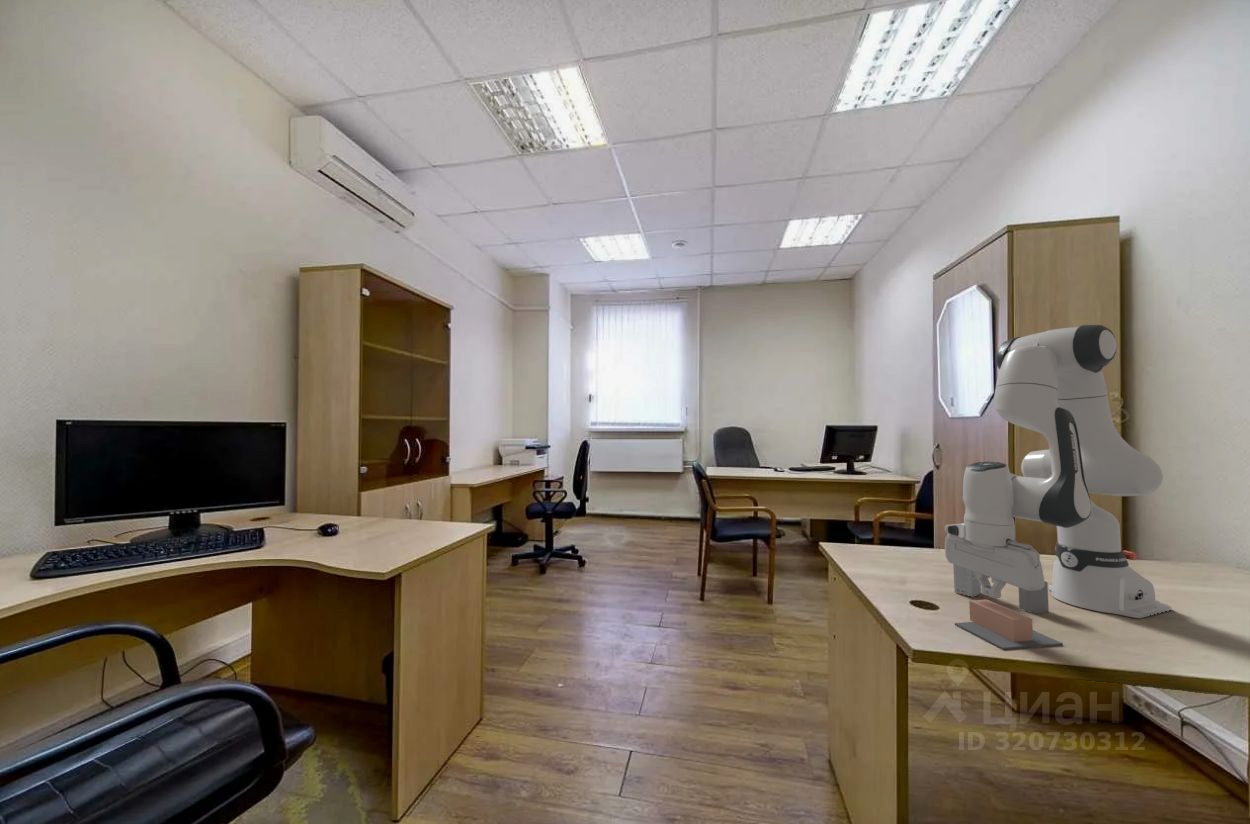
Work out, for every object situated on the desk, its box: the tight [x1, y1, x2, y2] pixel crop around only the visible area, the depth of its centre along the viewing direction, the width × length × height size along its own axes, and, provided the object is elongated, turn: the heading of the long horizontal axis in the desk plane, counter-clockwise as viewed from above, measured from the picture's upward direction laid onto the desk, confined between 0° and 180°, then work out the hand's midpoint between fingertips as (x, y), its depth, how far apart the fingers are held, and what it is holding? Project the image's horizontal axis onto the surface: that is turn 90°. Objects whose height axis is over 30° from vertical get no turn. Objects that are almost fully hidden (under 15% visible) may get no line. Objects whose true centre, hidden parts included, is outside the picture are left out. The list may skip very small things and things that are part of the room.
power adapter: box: [1017, 580, 1050, 614], centre depth 105 cm, size 3×5×12 cm, turn 96°
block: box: [968, 599, 1034, 642], centre depth 94 cm, size 4×4×10 cm
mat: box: [954, 621, 1064, 651], centre depth 93 cm, size 14×11×1 cm
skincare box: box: [952, 564, 982, 598], centre depth 116 cm, size 6×4×12 cm
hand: (991, 595), depth 96 cm, fingers closed
